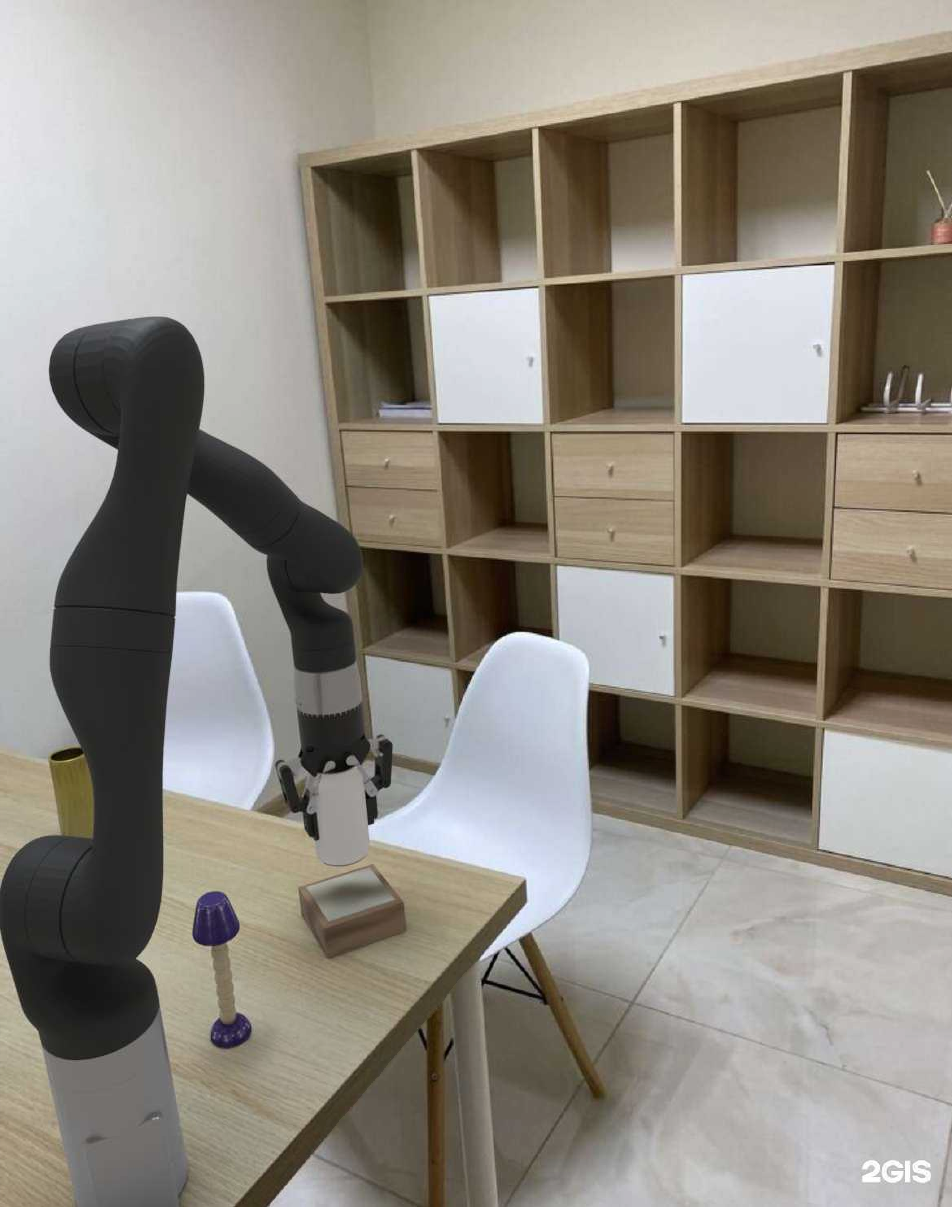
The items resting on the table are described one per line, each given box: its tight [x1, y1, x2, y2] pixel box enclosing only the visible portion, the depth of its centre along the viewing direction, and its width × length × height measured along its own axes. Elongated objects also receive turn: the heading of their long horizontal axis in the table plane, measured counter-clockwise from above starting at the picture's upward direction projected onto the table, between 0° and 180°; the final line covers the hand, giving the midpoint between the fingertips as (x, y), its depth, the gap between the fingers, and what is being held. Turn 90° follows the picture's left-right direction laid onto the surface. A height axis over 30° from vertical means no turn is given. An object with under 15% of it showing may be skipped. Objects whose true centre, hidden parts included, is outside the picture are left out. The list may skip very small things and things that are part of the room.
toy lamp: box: [191, 890, 253, 1049], centre depth 98 cm, size 5×5×17 cm
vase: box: [48, 745, 94, 838], centre depth 140 cm, size 6×6×14 cm
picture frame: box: [297, 863, 407, 959], centre depth 118 cm, size 10×10×4 cm
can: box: [307, 765, 371, 868], centre depth 114 cm, size 6×6×12 cm
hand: (342, 829), depth 115 cm, fingers closed on can, 6 cm apart
